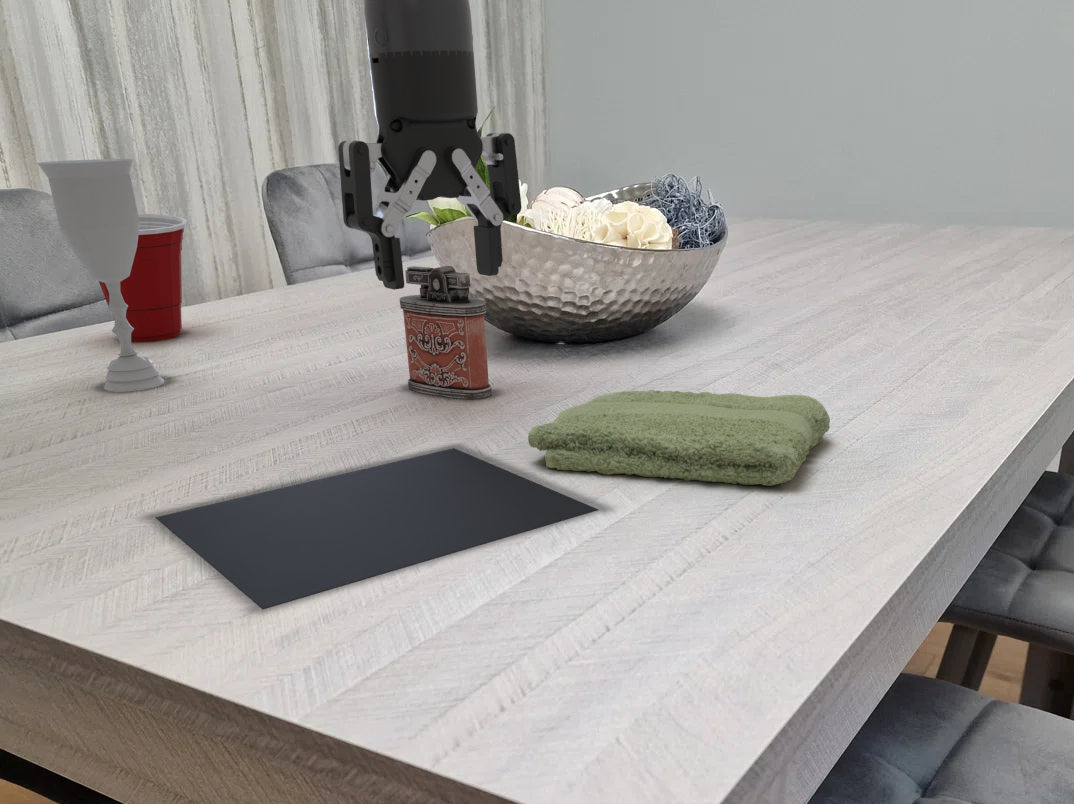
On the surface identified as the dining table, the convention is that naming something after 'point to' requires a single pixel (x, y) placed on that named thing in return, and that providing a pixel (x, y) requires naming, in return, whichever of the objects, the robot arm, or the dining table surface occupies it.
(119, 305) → the chalice
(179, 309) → the plastic cup
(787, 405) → the washcloth
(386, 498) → the mat
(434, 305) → the lighter
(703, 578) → the dining table surface
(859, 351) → the dining table surface
